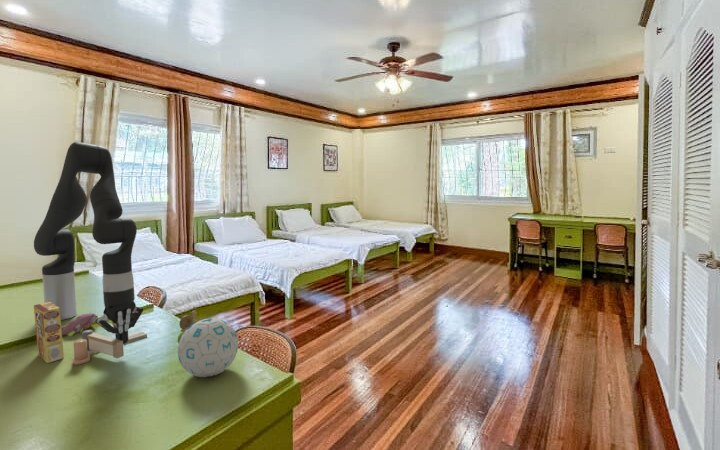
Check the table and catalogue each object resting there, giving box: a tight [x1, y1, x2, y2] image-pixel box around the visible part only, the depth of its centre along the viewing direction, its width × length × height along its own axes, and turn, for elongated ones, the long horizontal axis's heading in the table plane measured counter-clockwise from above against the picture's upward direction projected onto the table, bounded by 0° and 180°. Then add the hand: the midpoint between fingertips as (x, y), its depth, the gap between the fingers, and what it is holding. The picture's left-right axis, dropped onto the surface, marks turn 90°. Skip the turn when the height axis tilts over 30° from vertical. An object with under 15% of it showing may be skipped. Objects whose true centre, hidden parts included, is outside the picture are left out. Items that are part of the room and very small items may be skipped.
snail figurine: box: [177, 306, 197, 345], centre depth 116 cm, size 5×6×12 cm
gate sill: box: [87, 330, 148, 356], centre depth 117 cm, size 4×18×1 cm, turn 146°
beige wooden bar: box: [81, 329, 124, 359], centre depth 108 cm, size 16×3×5 cm, turn 67°
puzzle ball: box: [177, 317, 239, 378], centre depth 99 cm, size 15×15×15 cm
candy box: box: [33, 302, 65, 364], centre depth 107 cm, size 9×4×15 cm, turn 54°
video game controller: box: [61, 312, 99, 336], centre depth 127 cm, size 10×5×7 cm, turn 169°
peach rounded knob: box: [72, 338, 91, 366], centre depth 105 cm, size 4×4×6 cm
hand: (122, 343), depth 109 cm, fingers closed
